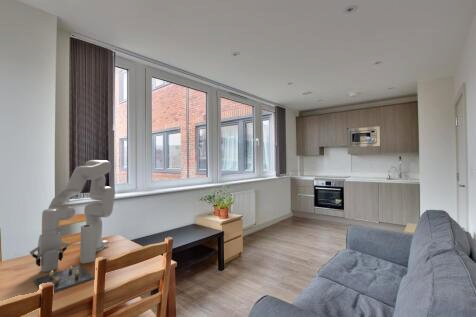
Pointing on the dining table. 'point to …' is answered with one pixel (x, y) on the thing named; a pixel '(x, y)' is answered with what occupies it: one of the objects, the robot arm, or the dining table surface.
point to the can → (49, 260)
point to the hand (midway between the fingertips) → (49, 262)
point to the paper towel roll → (88, 244)
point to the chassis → (65, 278)
